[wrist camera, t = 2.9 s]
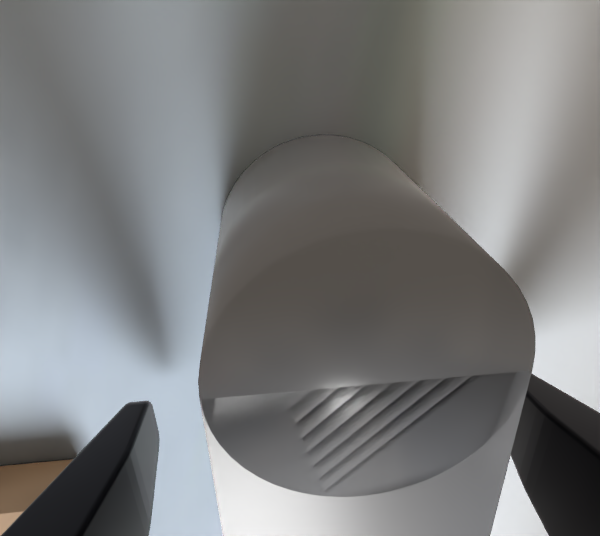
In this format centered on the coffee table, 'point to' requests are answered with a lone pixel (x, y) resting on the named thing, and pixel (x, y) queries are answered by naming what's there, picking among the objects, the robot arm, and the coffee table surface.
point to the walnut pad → (24, 487)
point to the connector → (356, 354)
